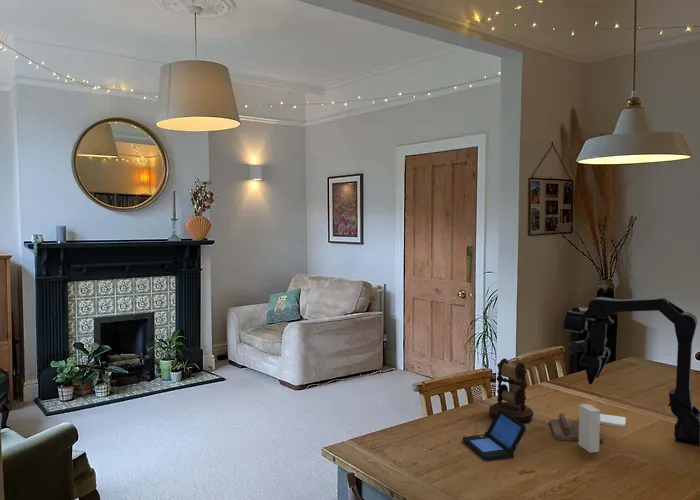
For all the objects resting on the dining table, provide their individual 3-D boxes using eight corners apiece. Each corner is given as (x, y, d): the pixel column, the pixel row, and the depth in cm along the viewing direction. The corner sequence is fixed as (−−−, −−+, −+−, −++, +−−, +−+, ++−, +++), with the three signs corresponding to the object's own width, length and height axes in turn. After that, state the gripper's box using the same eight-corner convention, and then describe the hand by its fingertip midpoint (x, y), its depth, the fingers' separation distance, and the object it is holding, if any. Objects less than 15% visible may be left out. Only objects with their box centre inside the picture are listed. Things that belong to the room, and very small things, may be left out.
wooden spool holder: (541, 417, 197) (542, 360, 196) (516, 428, 188) (517, 368, 187) (505, 406, 209) (506, 353, 207) (480, 416, 199) (481, 359, 198)
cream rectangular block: (587, 443, 174) (588, 404, 174) (599, 451, 169) (600, 410, 168) (578, 444, 174) (579, 404, 173) (589, 452, 168) (590, 411, 167)
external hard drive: (625, 429, 188) (584, 423, 193) (625, 421, 195) (586, 415, 201) (625, 424, 188) (584, 418, 193) (626, 416, 195) (586, 411, 201)
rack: (593, 425, 190) (594, 414, 189) (603, 443, 175) (603, 431, 175) (549, 422, 193) (549, 411, 192) (555, 439, 178) (555, 428, 178)
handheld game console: (461, 441, 177) (461, 412, 177) (499, 436, 181) (499, 408, 180) (485, 462, 162) (486, 430, 162) (527, 457, 166) (527, 425, 165)
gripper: (578, 326, 202) (575, 369, 204) (564, 336, 187) (561, 382, 188) (612, 331, 196) (608, 375, 197) (600, 341, 181) (597, 389, 182)
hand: (593, 380), depth 192 cm, fingers open, 9 cm apart
